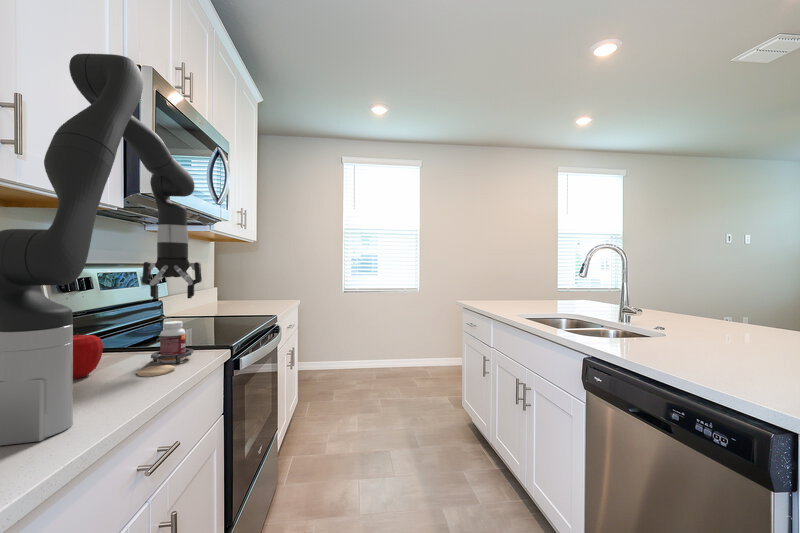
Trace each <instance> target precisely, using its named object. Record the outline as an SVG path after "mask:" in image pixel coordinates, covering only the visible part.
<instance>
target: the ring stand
mask: <svg viewBox="0 0 800 533" xmlns="http://www.w3.org/2000/svg"><path fill="white" fill-rule="evenodd" d="M194 352H195V351H194V348H193V349H192V348H187V347H185V353H183V354H179V355H170V356H160V350H158V351H154V352H153V353H152V354H151V355H150V359H152V362H153V363H158V360H165V359H176V362H175V364H176V365H180V364H181V361H180V358H182V357H185V358H188V357H190V356H192V355H193V353H194Z"/></svg>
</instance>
